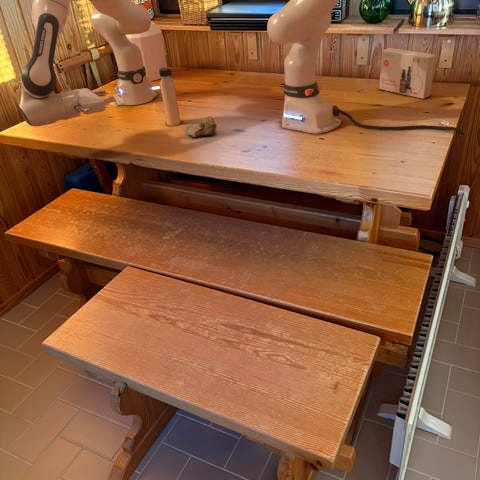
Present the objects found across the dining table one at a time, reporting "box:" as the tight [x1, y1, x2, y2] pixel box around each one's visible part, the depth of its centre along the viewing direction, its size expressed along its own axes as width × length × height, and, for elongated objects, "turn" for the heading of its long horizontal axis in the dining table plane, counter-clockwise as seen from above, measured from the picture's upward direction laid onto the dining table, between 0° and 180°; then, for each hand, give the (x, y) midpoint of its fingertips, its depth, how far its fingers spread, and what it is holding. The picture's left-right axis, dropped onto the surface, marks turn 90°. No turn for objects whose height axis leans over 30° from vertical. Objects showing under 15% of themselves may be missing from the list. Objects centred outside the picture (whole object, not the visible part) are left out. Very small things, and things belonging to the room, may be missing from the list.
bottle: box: [159, 75, 182, 127], centre depth 176 cm, size 5×5×20 cm
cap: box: [159, 67, 172, 77], centre depth 171 cm, size 4×4×2 cm
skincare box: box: [378, 47, 437, 100], centre depth 184 cm, size 21×6×16 cm, turn 40°
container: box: [126, 20, 168, 82], centre depth 235 cm, size 21×21×28 cm
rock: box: [185, 115, 218, 138], centre depth 169 cm, size 11×6×10 cm
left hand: (109, 95), depth 164 cm, fingers open, 8 cm apart
